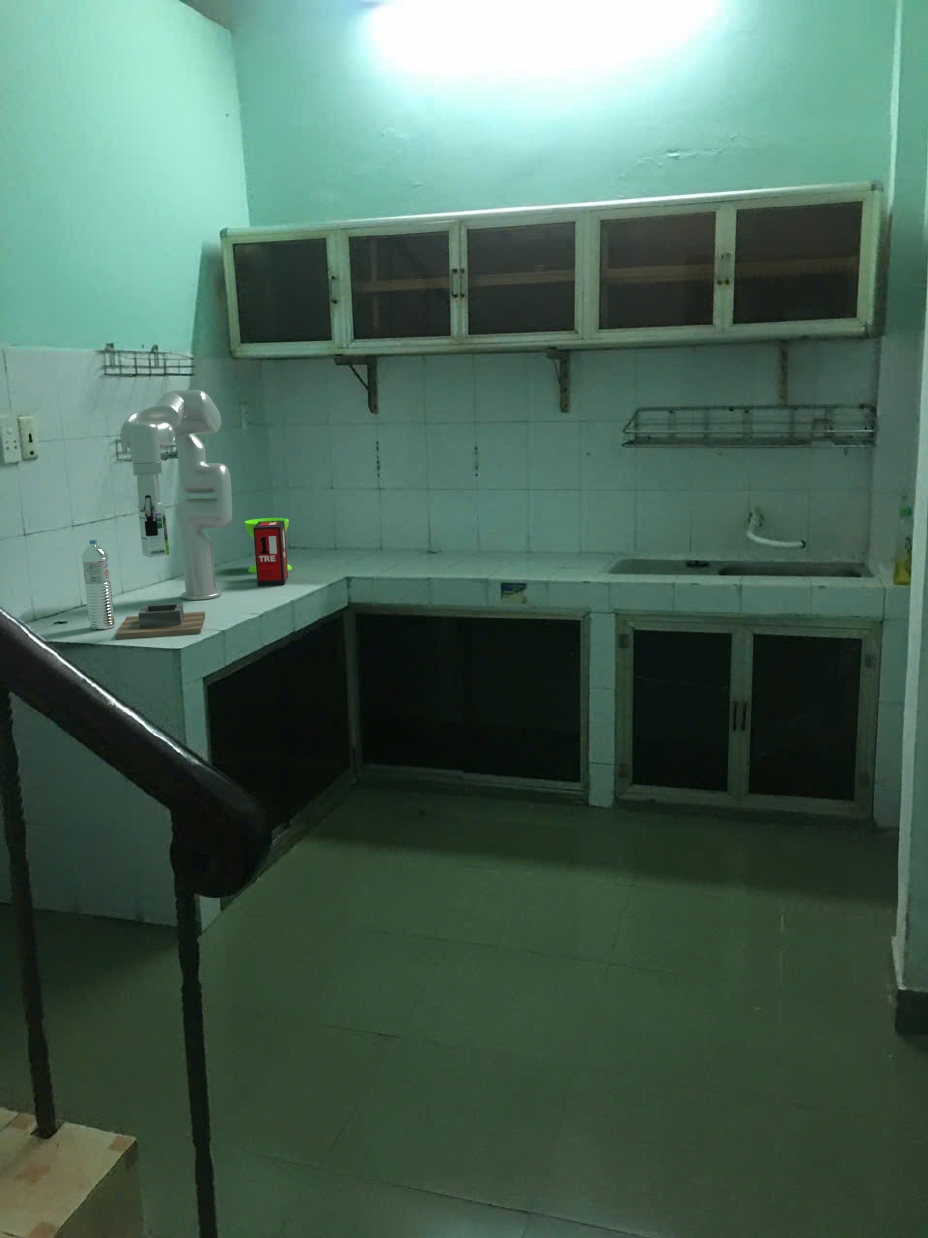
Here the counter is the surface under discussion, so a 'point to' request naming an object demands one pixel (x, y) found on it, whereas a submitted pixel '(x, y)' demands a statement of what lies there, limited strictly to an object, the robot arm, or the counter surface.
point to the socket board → (161, 622)
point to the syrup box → (155, 543)
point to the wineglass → (249, 527)
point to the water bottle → (98, 587)
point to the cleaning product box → (270, 553)
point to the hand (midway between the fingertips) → (153, 533)
